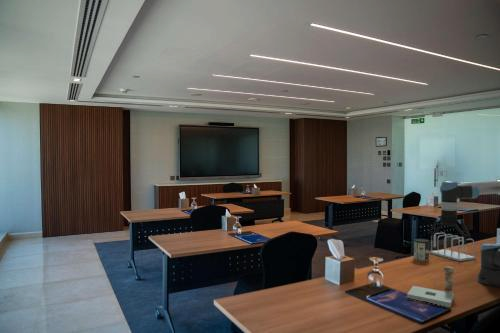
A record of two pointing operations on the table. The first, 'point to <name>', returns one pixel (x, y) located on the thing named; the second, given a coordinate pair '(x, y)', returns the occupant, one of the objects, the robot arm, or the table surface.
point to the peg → (448, 278)
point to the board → (431, 296)
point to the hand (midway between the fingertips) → (448, 248)
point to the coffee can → (421, 249)
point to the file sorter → (452, 254)
